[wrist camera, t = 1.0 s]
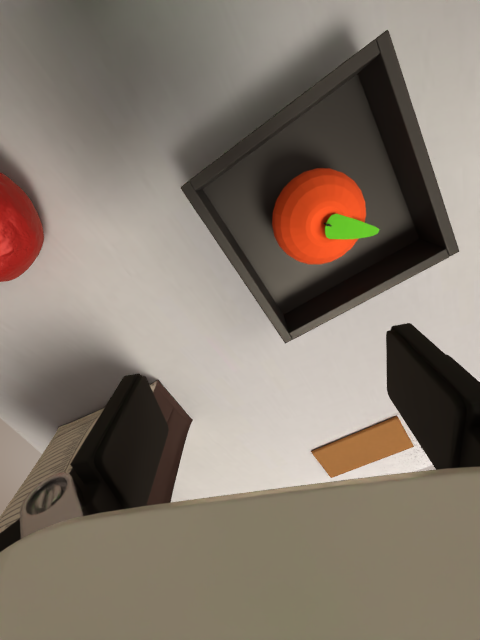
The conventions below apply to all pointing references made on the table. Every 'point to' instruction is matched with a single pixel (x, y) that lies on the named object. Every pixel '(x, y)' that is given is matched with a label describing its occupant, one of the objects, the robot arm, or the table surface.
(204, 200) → the black box
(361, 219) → the clementine
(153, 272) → the table surface
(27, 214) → the red tomato
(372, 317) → the table surface
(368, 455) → the cork mat
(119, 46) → the table surface
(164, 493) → the protein powder
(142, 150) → the table surface
